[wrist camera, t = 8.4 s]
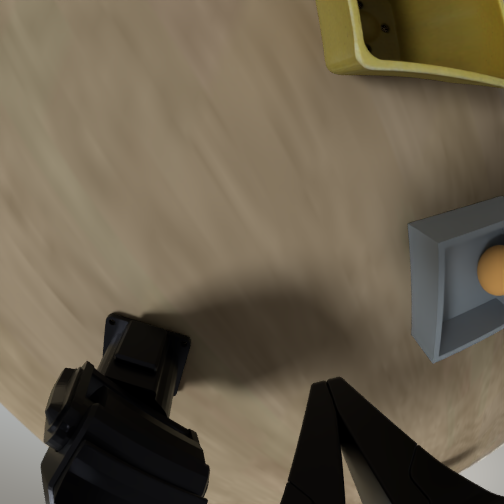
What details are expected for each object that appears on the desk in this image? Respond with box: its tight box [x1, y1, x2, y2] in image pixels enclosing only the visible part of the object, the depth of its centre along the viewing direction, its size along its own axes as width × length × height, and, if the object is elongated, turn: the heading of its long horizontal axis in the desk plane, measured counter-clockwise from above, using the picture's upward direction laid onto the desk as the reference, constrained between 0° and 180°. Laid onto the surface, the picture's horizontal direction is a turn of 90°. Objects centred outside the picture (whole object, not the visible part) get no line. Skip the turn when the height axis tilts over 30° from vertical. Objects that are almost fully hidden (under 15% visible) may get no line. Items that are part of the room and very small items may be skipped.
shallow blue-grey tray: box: [408, 196, 504, 363], centre depth 20 cm, size 10×10×4 cm
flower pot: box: [315, 0, 504, 88], centre depth 11 cm, size 9×9×9 cm
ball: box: [477, 245, 504, 296], centre depth 20 cm, size 4×4×4 cm
